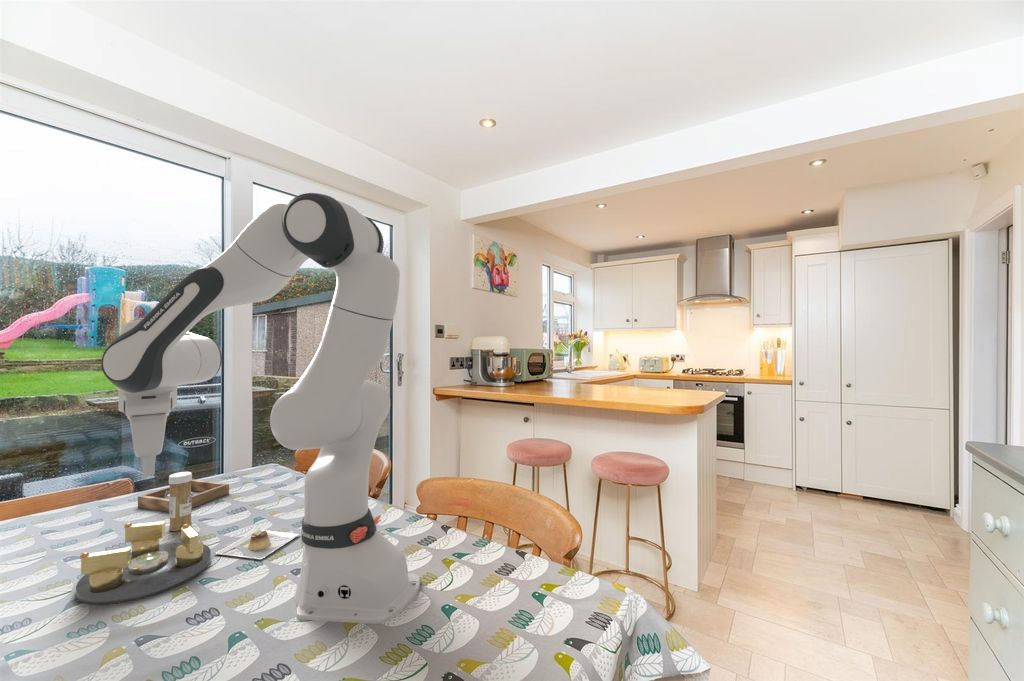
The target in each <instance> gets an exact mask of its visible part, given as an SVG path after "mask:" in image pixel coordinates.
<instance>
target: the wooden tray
mask: <svg viewBox="0 0 1024 681" xmlns="http://www.w3.org/2000/svg"><path fill="white" fill-rule="evenodd" d="M166 491H170V485H169V486H167V487H164V488H160V489H157V490H154V491H151V492H148V493H145V494H142V495H138V496H137V508H139V509H141V508H142V509H146V510H147V509H148V510H155V511H161V512H168V513H169V499H166V498H165V494H166ZM191 492H199V493H196V494H193V496H191V509H192V508H196V507H197V506H201V505H205V504H206V503H210V501H214V500H216V499H219V498H221V497H224V496H227V495H230V483H225V482H216V481H215V482H214V481H209V480H208V481H207V480H198V479H192V480H191Z"/></svg>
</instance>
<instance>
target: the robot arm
mask: <svg viewBox="0 0 1024 681" xmlns="http://www.w3.org/2000/svg"><path fill="white" fill-rule="evenodd" d="M384 247H385V246H384V236H383V233H382V232H381V229H380V228H379V227H378V225H377V224H376V223H375V222H374V221H373V220H372V219H371V218H369V217H367V216H365V215H363V214H362V213H360V212H359V211H358V210H357V209H356V208H354V207H353V206H351V205H349V204H348V203H345V202H342V201H340V200H337V199H336V198H334V197H332V196H329V195H327V194H322V193H318V192H308V193H302V194H301V193H300V194H299V195H297V196H295V197H294V198H292V199H291V200H290V201H289V202H288V203H285V202H275V203H272V204H269V206H267V207H266V208H265V209H263V210H262V211H261V212H259V214H257V215H256V217H254V218H253V219H252V220H251V221H250V222H249V223H248V224H247V225H246V226H245V227H244V228H243V230H241V232H240V233H239V234H238V236H237V237H236V238H235V240H234V241H233V242H232V243H231V244H230V246H229V247H228V248H226V249H225V250H224V251H223V252H222V253H221V254H220V255H218V256H217V257H216V258H214V259H213V260H212V261H211V262H209V263H208V264H206V265H204V266H202V267H199V268H197V269H195V270H194V271H192V272H191V273H190V274H188V275H187V276H186V277H184V278H183V279H182V280H181V281H180V282H179V283H178V284H177V285H176V286H175V287H173V288H172V289H171V291H169V292H168V293H167V295H165V297H163V298H162V299H161V300H160V301H159V302H158V303H157V304H156V305H155V306H154V307H153V308H152V309H151V310H150V311H149V312H148V313H147V314H146V315H144V317H140V318H136V319H135V318H134V319H131V320H129V321H127V322H125V323H124V325H123V326H122V330H121V333H120V335H118V336H117V337H116V338H115V339H113V341H111V342H110V343H109V345H108V346H107V348H106V349H105V351H104V352H103V354H102V358H101V369H102V373H103V374H104V376H105V378H107V380H108V381H109V382H110V383H111V384H113V385H114V386H115V387H116V388H118V389H117V390H118V398H117V399H118V406H117V407H118V408H117V409H118V412H121V413H123V414H124V416H126V419H127V420H128V421H129V425H130V432H131V437H132V438H131V440H132V446H133V452H134V454H135V455H134V456H135V457H136V458H140V462H141V468H142V469H141V470H142V472H141V475H142V477H144V478H147V477H149V478H150V477H153V476H155V474H156V461H157V456H159V455H161V454H162V450H163V446H164V441H165V435H166V434H165V433H166V428H167V427H166V425H167V420H168V417H169V416H170V413H171V411H172V410H173V409H174V408H177V406H178V386H179V387H180V386H184V385H192V384H200V383H204V382H207V381H210V380H212V379H213V378H214V377H216V375H218V373H219V372H220V369H221V366H222V362H223V354H222V351H221V348H220V346H219V344H217V343H216V341H214V340H213V339H212V338H210V337H207V336H203V335H199V334H196V333H193V332H190V331H191V330H192V329H193V328H194V327H195V326H196V324H198V322H200V321H201V320H202V319H203V318H205V317H206V316H208V315H210V314H212V313H214V312H217V311H221V310H223V309H226V308H227V309H228V308H231V307H236V306H241V305H242V306H243V305H247V304H248V305H249V304H255V303H260V302H264V301H265V302H266V301H268V300H270V299H271V298H273V297H274V296H276V295H277V294H278V293H279V292H281V291H282V290H283V289H284V288H285V287H286V286H287V285H288V283H289V282H290V281H291V279H292V278H293V277H294V276H295V274H296V273H297V272H298V270H299V269H300V268H301V267H302V265H304V263H305V262H306V261H307V260H308V259H311V260H313V261H314V262H315V263H316V264H318V265H320V266H321V267H322V268H324V269H329V268H331V269H332V270H333V272H334V273H335V278H336V284H335V290H334V294H333V297H332V300H331V304H330V308H329V311H328V312H329V313H328V316H327V319H326V323H325V327H324V330H323V334H322V336H321V337H322V338H321V340H320V343H319V345H318V348H317V350H316V352H315V354H314V356H313V358H312V359H311V361H310V363H309V364H308V366H307V367H306V368H305V371H304V372H303V374H302V375H301V376H300V377H299V379H298V380H297V381H296V383H294V384H293V385H292V386H291V388H290V389H289V390H288V391H286V392H285V393H283V394H282V395H280V397H279V398H277V400H276V401H275V403H274V404H273V405H272V409H271V412H270V418H269V424H270V425H269V426H270V429H271V432H272V435H273V436H274V438H275V440H276V441H277V442H278V443H279V444H280V445H281V446H282V447H284V448H285V449H289V450H292V451H293V450H295V451H298V450H299V451H300V450H301V451H303V450H314V449H315V450H316V449H320V450H319V452H318V455H317V457H315V458H316V459H315V460H314V462H313V463H312V465H311V466H310V467H309V469H308V470H307V472H306V475H305V478H304V481H303V483H304V488H303V489H304V493H303V494H304V498H303V499H304V501H303V502H304V503H303V504H304V506H303V507H304V508H303V510H304V511H303V512H304V515H303V517H302V519H301V529H300V534H301V535H300V536H301V542H302V543H303V549H302V559H301V567H300V573H299V579H298V583H297V586H296V590H295V593H294V597H293V602H294V603H295V606H296V607H297V609H296V614H295V615H296V616H295V617H296V619H297V620H299V621H300V620H301V621H317V622H321V621H322V622H332V623H333V622H337V623H353V624H368V625H369V624H370V625H371V624H374V625H381V624H383V623H385V622H387V621H390V620H391V619H393V618H395V617H396V616H398V615H399V614H400V613H401V612H403V611H404V610H405V609H406V608H407V607H408V606H409V605H410V604H411V603H412V602H413V601H414V599H415V598H416V596H417V595H418V593H419V591H420V589H421V579H420V576H419V575H418V574H415V573H412V572H409V570H408V568H409V567H408V563H407V560H406V556H405V554H404V552H403V551H402V550H401V549H399V548H398V547H397V546H396V545H394V544H393V543H392V542H391V541H390V540H389V539H388V538H387V537H385V536H384V535H382V533H380V531H378V530H377V524H379V523H380V522H381V521H382V520H381V519H380V518H382V517H381V516H382V515H378V516H376V517H375V518H374V517H373V514H372V511H371V508H370V507H369V478H370V467H371V461H372V457H373V452H374V449H375V445H376V441H377V438H378V435H379V432H380V429H381V427H382V425H383V423H384V421H385V420H386V418H387V417H388V416H389V413H390V412H391V411H390V410H391V399H390V398H391V397H390V395H389V393H388V391H387V389H386V388H385V387H384V386H383V385H382V384H381V383H379V382H378V381H373V380H370V379H367V377H369V375H370V373H371V372H372V371H373V370H374V369H375V368H376V367H377V366H378V365H379V364H380V363H381V361H382V360H383V358H384V356H385V352H386V348H387V344H388V340H389V337H390V333H391V330H392V326H393V322H394V318H395V315H396V314H395V313H396V309H397V304H398V298H399V290H400V280H401V278H400V276H401V275H400V274H401V273H400V269H399V266H398V265H397V264H396V263H395V261H393V260H392V258H390V257H388V256H387V255H385V254H383V252H384Z"/></svg>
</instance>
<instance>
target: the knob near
mask: <svg viewBox="0 0 1024 681" xmlns="http://www.w3.org/2000/svg"><path fill="white" fill-rule="evenodd" d="M180 532H181V534H180V535H181V536H180V538H181V539H180V542H181V543H182V545H180V546H178V547H177V548H176V566H178V567H186V566H190V565H193V564H196V563H198V562H200V561H201V560H202V559H203V544H204V542H203V541H200V540H199V534H198V533H197V532H196V531H195V530H194V529H193V528H192V527H191V526H189V525H188V524H185V525H183V526H182V528H181V530H180Z"/></svg>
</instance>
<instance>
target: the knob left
mask: <svg viewBox="0 0 1024 681" xmlns="http://www.w3.org/2000/svg"><path fill="white" fill-rule="evenodd" d="M131 552H132V546H131V547H124V548H118V549H117V548H116V549H110V550H106V551H104V550H103V551H99V552H91V553H89V552H83V553H81V554H80V556H79V559H80V575H81V576H84V575H85V574H89V591H90V592H92V593H98V592H104V591H107V590H110V589H113V588H115V587H117V586H119V585H120V584H121V583H122V582H123V568H125V567H128V566H129V565H130V564H131Z"/></svg>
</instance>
